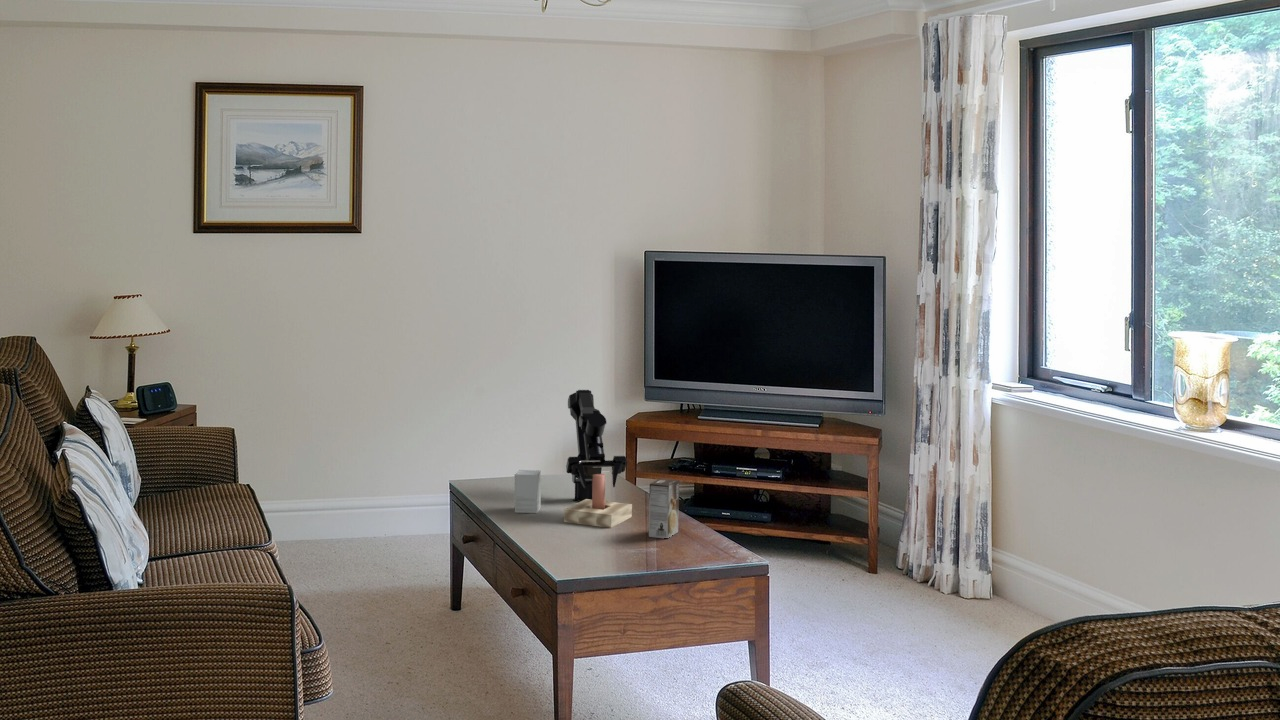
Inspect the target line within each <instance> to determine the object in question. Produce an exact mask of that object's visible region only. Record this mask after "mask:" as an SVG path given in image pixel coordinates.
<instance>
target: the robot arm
mask: <svg viewBox="0 0 1280 720" xmlns="http://www.w3.org/2000/svg"><path fill="white" fill-rule="evenodd" d="M567 409H569V412H570V416H571V417H572V419H574V420H575V429H576V430H575V431H576V439H577V441H576V443H577V451H578V455H577V456H569V457H568V458H567V459H566V460H567V462H566V465H565V470H566V473H567V474H571V480H572V483H573V484H574V498H572V501H575V502H581V501H583V500H585V499H591V500H592V477H593V474H602V468H611V474H612V487H613V488H615V487H616V481H617V478H618V475H620V474H622V473H624V472H625V471H626V469H627V468H626V467H627V464H628V459H627V456H625V455H613V458H612V459H611V460H609V459H608V460H606V458H605V457H606V454H605V449H604V442H603V437H602V436H603V435H604V433H605V428H606V425H607V419H606V417H605V415H604V414H603V413H601V411H600V410H599V409H597V408H595V402H594V394H593V393H592V391H591V390H589V389H578V390H576V391H575V392H574V393H571V394H569V396H568V398H567Z"/></svg>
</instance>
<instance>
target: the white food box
mask: <svg viewBox="0 0 1280 720" xmlns="http://www.w3.org/2000/svg"><path fill="white" fill-rule="evenodd" d="M648 495H649V498H648V500H649V501H648V504H649V505H648V506H649V507H648V511H649V512H648V537H649V538H655V539H656V538H657V539H664V538H669V537H670V538H672V537H673V536H674V535H676V534H677V533H678V532H679V515H680V513H679V511H680V510H679V507H680V501H679V500H680V479H669V478H657V479H656V480H655V481H653V482H651V483H649V494H648ZM672 535H673V536H672ZM670 538H669V539H670Z"/></svg>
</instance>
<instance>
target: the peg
mask: <svg viewBox="0 0 1280 720" xmlns="http://www.w3.org/2000/svg"><path fill="white" fill-rule="evenodd" d="M605 501H606V474H603V473H601V474H593V477H592V508H593V509H601V510H604V509H605Z"/></svg>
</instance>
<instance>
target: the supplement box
mask: <svg viewBox="0 0 1280 720" xmlns="http://www.w3.org/2000/svg"><path fill="white" fill-rule="evenodd" d="M541 476H542V475H541V470H534V469H533V470H531V469H519V470H518V471H517V472H515V473H514V513H516V514H517V513H519V514H520V513H523V514H538V512H539V511H540V510H541V502H542V501H541V480H542V479H541Z"/></svg>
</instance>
